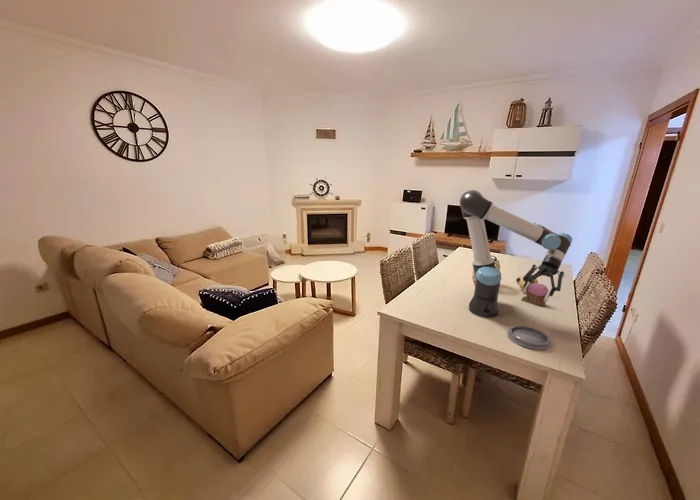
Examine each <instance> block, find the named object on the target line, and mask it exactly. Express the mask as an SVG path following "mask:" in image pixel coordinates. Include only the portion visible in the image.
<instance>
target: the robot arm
mask: <svg viewBox="0 0 700 500" xmlns="http://www.w3.org/2000/svg"><path fill="white" fill-rule="evenodd" d="M459 206H460V209H461V214H462V218H463V219H464V220H466V223H467V228H468V235H469V238H470V243H471V248H472V253H473V258H474V259H473V261H472V268H473V274H474V278H475V279H474V280H475V286H474V291H473V296H472V298H471V300H470V301H469V304H468V311H470V312H471V313H472V314H474V315H476V316H479V317H481V318H482V317H484V318H496V317H498V316H499V315H500V307H499V306H500V305H499V301H498V299H499V292H500V285H501V282H502V281H501V280H502V273H501V271H500V270H498V269H497V267H496V262H495V261H496V260H495V259H494V258H493V257H492V256H491V252H490V246H489V240H488V234H487V230H486V229H487V228H486V224H485V220H487V221H489V222H490V223H493V224H495V225H497V226H500V227H502V228H503V229H506V230H508V231H510V232H512V233H514V234H516V235H519V236H521V237H522V238H525V239H527V240H528V241H531V242H534V243H535V244H538V245H539V246H541V247H543V249H545V250H547V253H546V254H545V256H544V258H543V260H542V261H541V263H540V265H536V264H532V266H531V268H530V269H529V270H528V272H526V274H525V275H523V276H524V277H523V280H524V281H525V284H524V290H523V291H522V294H523V295H524V296H526V292H527V289H528V287H529V286H530V282H532V281H533V280H535V279H538V278H539V277H541V276H545V277H549V278H550V283H551V284H550V285H551V287H549V289H548V290H549V291H548V293H547V295H546V297H545V299H544V301H545V303H547V302H548V300H549V298H550V297H553V296H554V294H555V292H561V289H562V283H563V282H562V281H563V277H564V276H565V272H564V271H560V270H559V269H560V267H561V265H562V262H563V261H564V259H565V257H566V254H567V252H568V251H569V249H570V247H571V245H572V242H573V237H572V236H571V235H570V234H569V233H565V232H558V233H556V232H554V231H552V230H550V229H549V228H547V227H545V226H543V225H542V224H539V223H536V224H534V223H533V222H531V221H528V220H526V219H524V218H523V217H522V218H521V217H520V216H517V215H515V214H513V213H511V212H509V211H507V210H504V209H503V208H500V207H498V206H495V205H494V202H493V201H491V200H488V199H487V198H485V197H484V195H482V193H481V192H480V191H478V190H473V189H472V190H468V191H465V192H463V194H461V196H460V198H459ZM535 271H537V272H536V273H535ZM531 275H532V276H531ZM555 275H557V276H558V277H557V286H556V285H555V279H554V276H555ZM530 276H531V277H530Z"/></svg>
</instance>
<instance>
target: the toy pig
mask: <svg viewBox="0 0 700 500" xmlns="http://www.w3.org/2000/svg"><path fill="white" fill-rule="evenodd" d="M524 276H525V275H520V276H518V277H516V278H515V283H516V284H517V285H518V286H519V288H520V290H521V291H522V292H523V290H524V284H525V281H524V280H523V277H524ZM533 281H534V283H539V281H538V278H536V279H535V280H533Z"/></svg>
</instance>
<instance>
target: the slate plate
mask: <svg viewBox="0 0 700 500" xmlns="http://www.w3.org/2000/svg"><path fill="white" fill-rule="evenodd" d="M506 335H507V338H508V339H509V340H510V341H512V343H514V344H516V345H518V346H520V347H523V348H525V349H528V350H534V351H546V350H548V349H550V348H551V345H552V341H551V338H550V336H549V335H548V334H546V333H545V332H544V331H543V330H541V329H537V328H536V327H533V326H529V325H524V324H523V325H522V324H514V325H512V326H510V327H508V330H507V334H506Z"/></svg>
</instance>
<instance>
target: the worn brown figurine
mask: <svg viewBox="0 0 700 500" xmlns="http://www.w3.org/2000/svg"><path fill="white" fill-rule="evenodd" d="M532 275H533V274H532ZM532 275H531V276H532ZM531 276H530V277H531ZM531 284H534V281H532V282H530V285H531ZM520 301H523V302H525V303H528V304H530V305H531V304H532V305H534V306H537V307H541V308H543V307H546V303H547V302H545V300H544V301H543V303H542V304H534V303H533V302H531V301H530V300H529V296H528V291H527V292H526V294H525V295H524V296H523V297H521V299H520Z"/></svg>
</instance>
